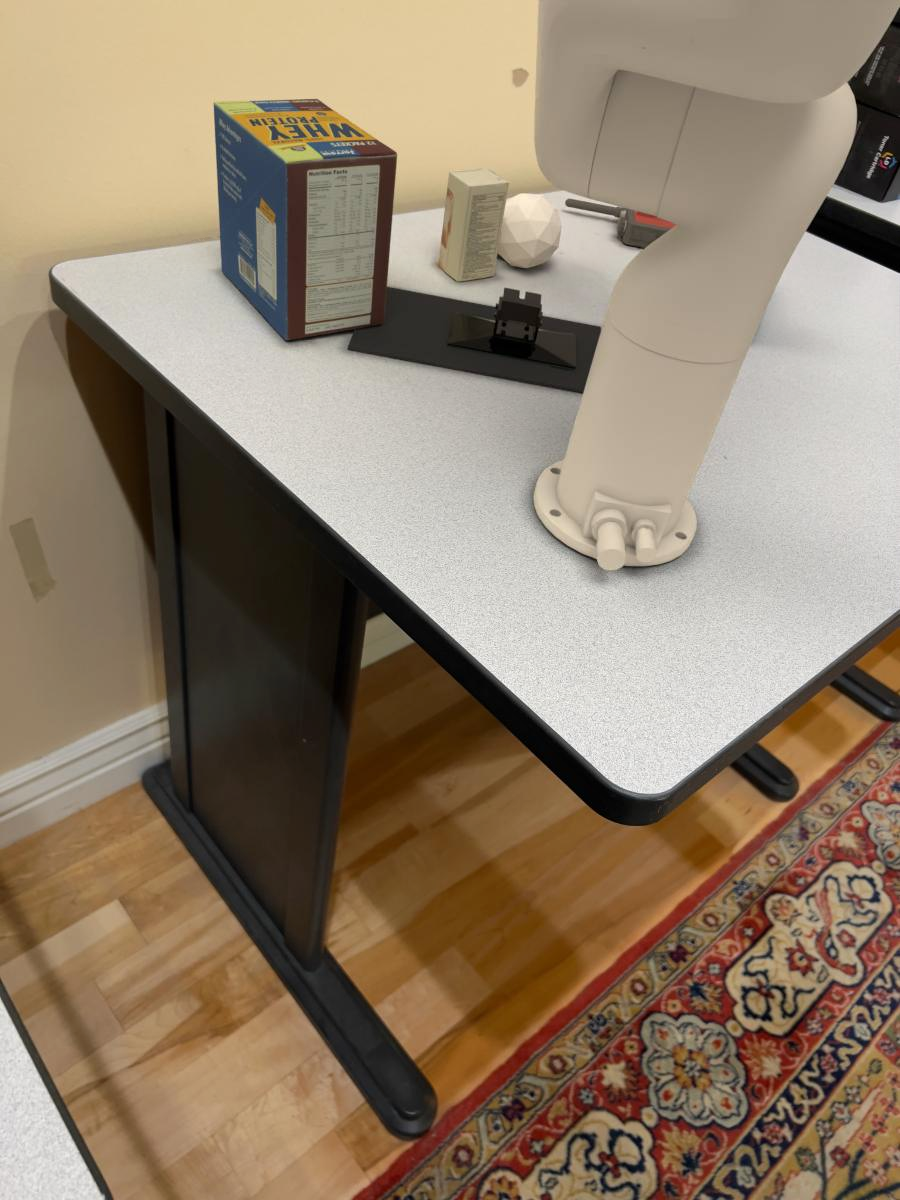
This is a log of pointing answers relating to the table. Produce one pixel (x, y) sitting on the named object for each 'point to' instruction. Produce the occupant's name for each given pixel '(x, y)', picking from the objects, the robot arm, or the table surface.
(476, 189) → the printed cream carton
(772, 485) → the table surface
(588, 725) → the table surface
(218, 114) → the protein box
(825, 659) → the table surface
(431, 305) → the desk mat
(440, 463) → the table surface
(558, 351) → the build plate
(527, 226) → the geometric ball
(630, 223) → the walkie-talkie
